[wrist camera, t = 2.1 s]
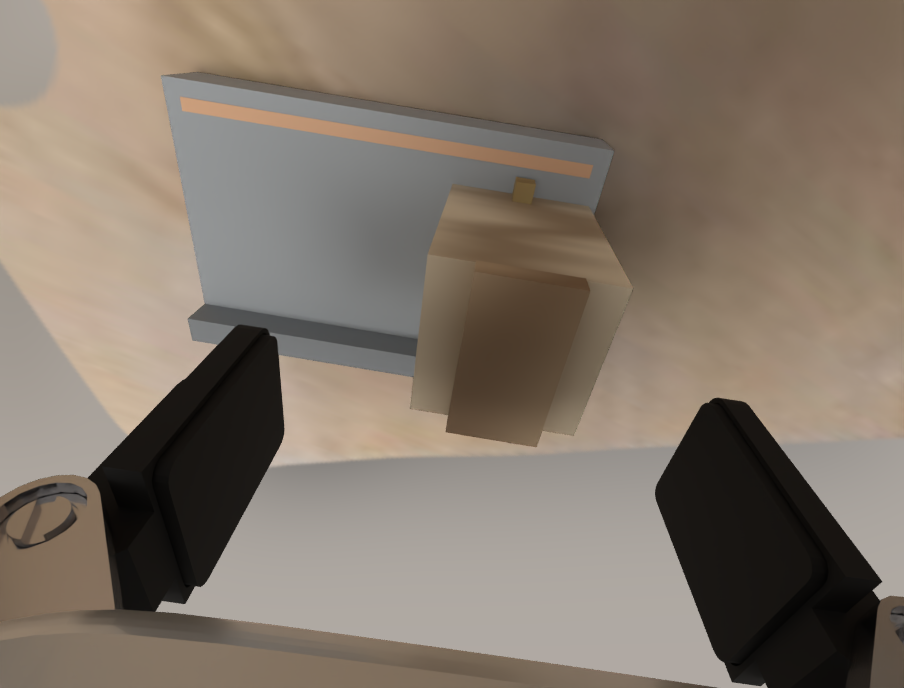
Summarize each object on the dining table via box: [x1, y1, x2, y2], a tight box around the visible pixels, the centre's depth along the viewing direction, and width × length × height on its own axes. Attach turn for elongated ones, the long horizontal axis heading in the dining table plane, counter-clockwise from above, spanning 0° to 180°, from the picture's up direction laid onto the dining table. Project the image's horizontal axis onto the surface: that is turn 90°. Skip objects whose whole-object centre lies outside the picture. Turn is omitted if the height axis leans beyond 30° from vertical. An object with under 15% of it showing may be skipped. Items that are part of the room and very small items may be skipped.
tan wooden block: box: [410, 177, 633, 447], centre depth 13 cm, size 4×5×7 cm
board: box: [161, 72, 614, 377], centre depth 17 cm, size 14×9×3 cm, turn 82°
